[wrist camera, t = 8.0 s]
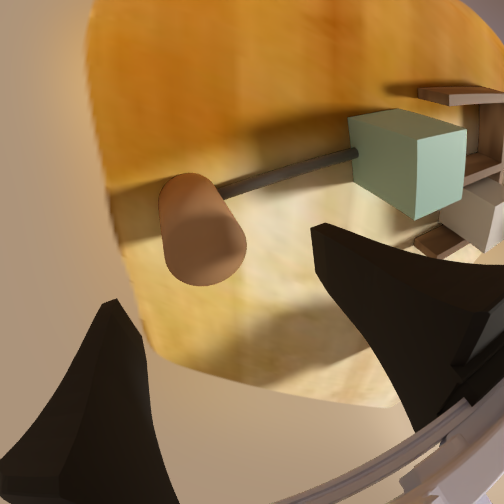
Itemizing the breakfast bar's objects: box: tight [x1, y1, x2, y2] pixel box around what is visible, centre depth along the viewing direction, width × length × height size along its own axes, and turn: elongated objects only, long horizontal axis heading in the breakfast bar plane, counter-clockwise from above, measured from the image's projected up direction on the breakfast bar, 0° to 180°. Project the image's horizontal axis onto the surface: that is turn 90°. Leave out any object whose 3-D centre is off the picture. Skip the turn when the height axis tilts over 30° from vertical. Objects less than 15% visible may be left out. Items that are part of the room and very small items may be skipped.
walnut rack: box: [414, 87, 504, 259], centre depth 21 cm, size 14×10×3 cm
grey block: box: [439, 177, 504, 253], centre depth 21 cm, size 4×4×6 cm
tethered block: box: [158, 109, 467, 286], centre depth 15 cm, size 4×17×6 cm, turn 103°
